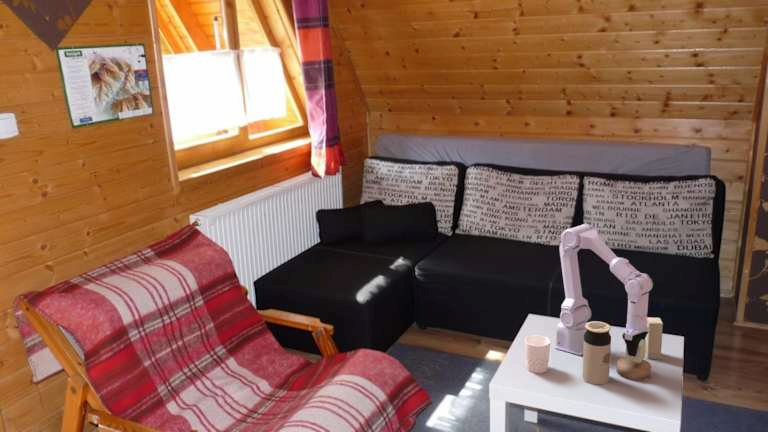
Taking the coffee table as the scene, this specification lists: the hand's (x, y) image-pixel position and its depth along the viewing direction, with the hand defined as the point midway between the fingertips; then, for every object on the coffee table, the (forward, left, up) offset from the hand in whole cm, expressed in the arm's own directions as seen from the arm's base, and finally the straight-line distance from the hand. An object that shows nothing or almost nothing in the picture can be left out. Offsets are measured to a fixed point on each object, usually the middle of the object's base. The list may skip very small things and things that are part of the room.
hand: (634, 352), depth 202 cm
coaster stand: (0, 0, -7) cm, 7 cm away
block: (0, 0, -2) cm, 2 cm away
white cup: (-26, -15, -7) cm, 31 cm away
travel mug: (-8, -10, -7) cm, 15 cm away
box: (+1, +15, -7) cm, 17 cm away
